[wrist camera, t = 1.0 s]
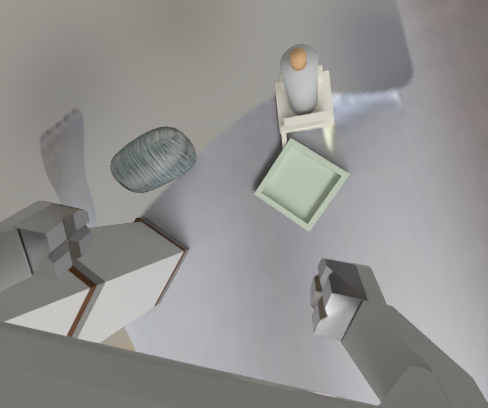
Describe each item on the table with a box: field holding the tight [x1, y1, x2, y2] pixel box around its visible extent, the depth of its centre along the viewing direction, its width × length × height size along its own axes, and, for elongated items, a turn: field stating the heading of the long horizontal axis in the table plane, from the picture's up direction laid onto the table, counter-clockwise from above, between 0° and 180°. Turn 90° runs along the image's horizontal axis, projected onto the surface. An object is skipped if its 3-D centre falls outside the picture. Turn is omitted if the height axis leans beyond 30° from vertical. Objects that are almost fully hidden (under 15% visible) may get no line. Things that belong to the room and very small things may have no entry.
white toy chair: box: [275, 65, 334, 155], centre depth 39 cm, size 8×11×3 cm
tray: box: [254, 138, 350, 231], centre depth 41 cm, size 10×10×2 cm
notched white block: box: [0, 217, 189, 343], centre depth 32 cm, size 11×11×35 cm
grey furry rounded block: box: [110, 127, 196, 193], centre depth 44 cm, size 14×10×10 cm
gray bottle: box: [280, 44, 318, 116], centre depth 34 cm, size 4×4×14 cm
